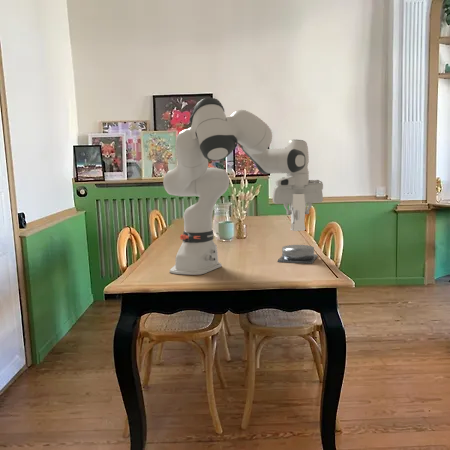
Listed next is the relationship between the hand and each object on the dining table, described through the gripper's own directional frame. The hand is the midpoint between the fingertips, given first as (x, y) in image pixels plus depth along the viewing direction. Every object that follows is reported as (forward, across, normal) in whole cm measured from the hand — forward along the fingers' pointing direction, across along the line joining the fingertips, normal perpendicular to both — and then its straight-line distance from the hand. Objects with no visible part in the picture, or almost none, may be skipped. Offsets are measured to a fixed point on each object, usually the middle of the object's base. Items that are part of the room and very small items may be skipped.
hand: (297, 214), depth 199 cm
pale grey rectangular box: (+7, 0, 0) cm, 7 cm away
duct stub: (+19, 0, 0) cm, 19 cm away
